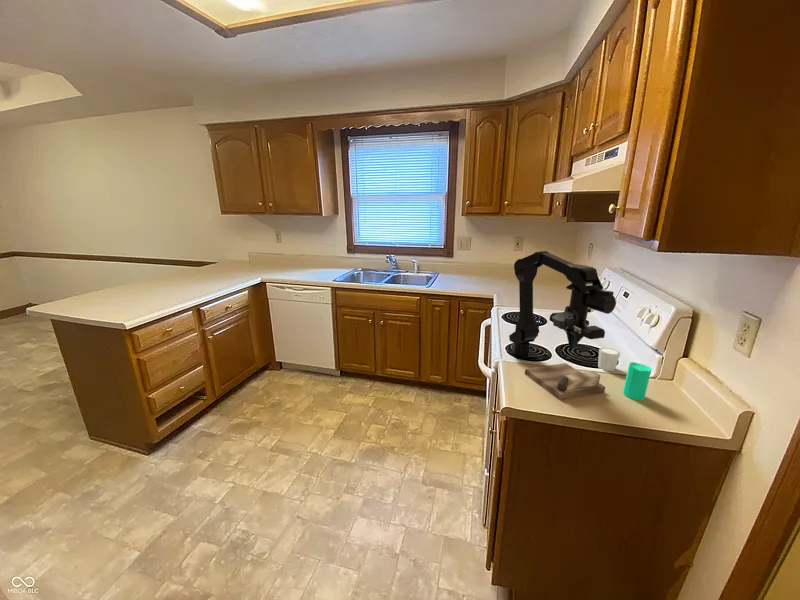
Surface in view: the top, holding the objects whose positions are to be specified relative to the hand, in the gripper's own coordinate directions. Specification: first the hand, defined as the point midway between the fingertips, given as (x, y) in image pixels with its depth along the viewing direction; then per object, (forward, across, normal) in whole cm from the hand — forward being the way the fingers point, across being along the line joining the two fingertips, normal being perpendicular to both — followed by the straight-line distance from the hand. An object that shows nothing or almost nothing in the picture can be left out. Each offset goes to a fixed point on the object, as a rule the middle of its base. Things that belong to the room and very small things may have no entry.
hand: (571, 348), depth 119 cm
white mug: (+13, -4, +23) cm, 27 cm away
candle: (+13, +14, +15) cm, 24 cm away
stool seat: (+12, +1, -2) cm, 13 cm away
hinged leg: (+10, +7, -3) cm, 13 cm away
